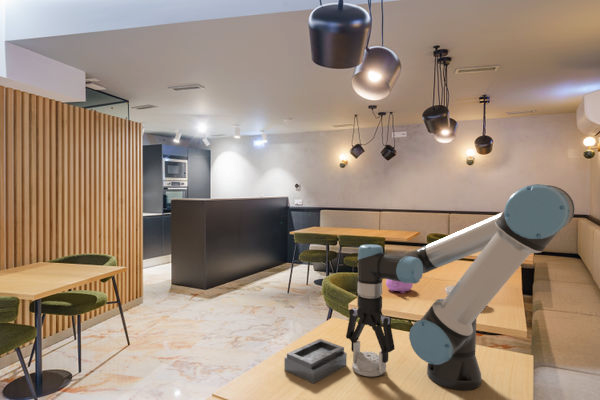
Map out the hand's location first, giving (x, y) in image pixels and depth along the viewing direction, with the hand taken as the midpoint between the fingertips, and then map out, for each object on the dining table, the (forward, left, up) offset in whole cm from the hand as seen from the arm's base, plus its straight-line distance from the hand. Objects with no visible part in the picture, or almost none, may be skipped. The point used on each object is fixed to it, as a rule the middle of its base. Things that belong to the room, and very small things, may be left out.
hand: (369, 366), depth 120 cm
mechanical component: (0, 0, -1) cm, 1 cm away
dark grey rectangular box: (+13, +9, -1) cm, 16 cm away
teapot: (+38, -89, -1) cm, 97 cm away
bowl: (+4, -90, -1) cm, 90 cm away
